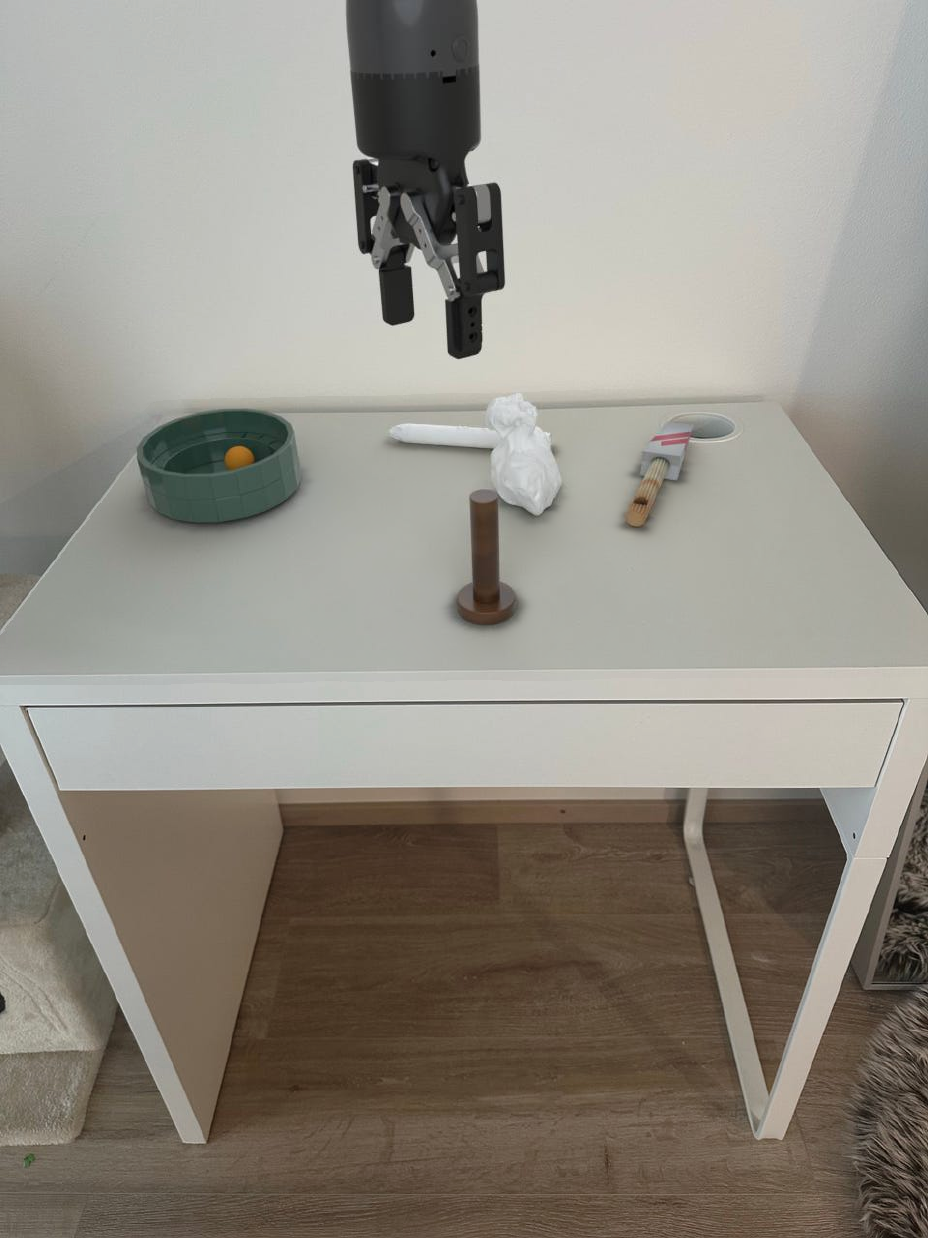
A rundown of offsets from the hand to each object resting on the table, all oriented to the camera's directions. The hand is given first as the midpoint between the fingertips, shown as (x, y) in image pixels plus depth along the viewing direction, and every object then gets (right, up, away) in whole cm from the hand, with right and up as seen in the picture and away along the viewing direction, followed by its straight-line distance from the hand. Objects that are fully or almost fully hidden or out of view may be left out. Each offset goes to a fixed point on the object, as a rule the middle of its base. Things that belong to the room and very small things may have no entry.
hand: (430, 338), depth 63 cm
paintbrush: (+22, -5, +31) cm, 38 cm away
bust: (+8, -7, +29) cm, 31 cm away
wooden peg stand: (+4, -18, +14) cm, 23 cm away
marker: (+3, 0, +38) cm, 38 cm away
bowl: (-22, -6, +32) cm, 39 cm away
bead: (-21, -3, +33) cm, 39 cm away
